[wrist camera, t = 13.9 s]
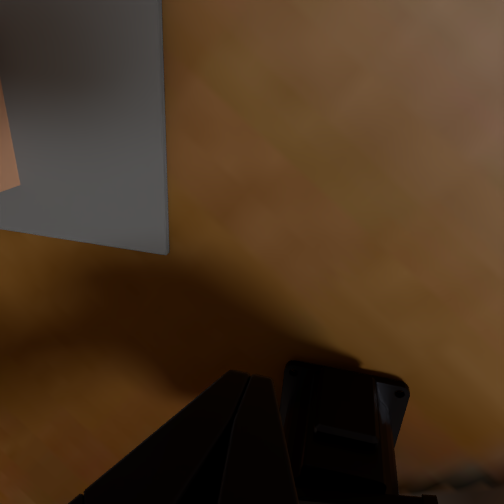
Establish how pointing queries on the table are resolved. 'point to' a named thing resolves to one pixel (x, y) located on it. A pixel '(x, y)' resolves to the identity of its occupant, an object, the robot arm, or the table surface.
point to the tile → (6, 151)
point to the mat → (86, 121)
